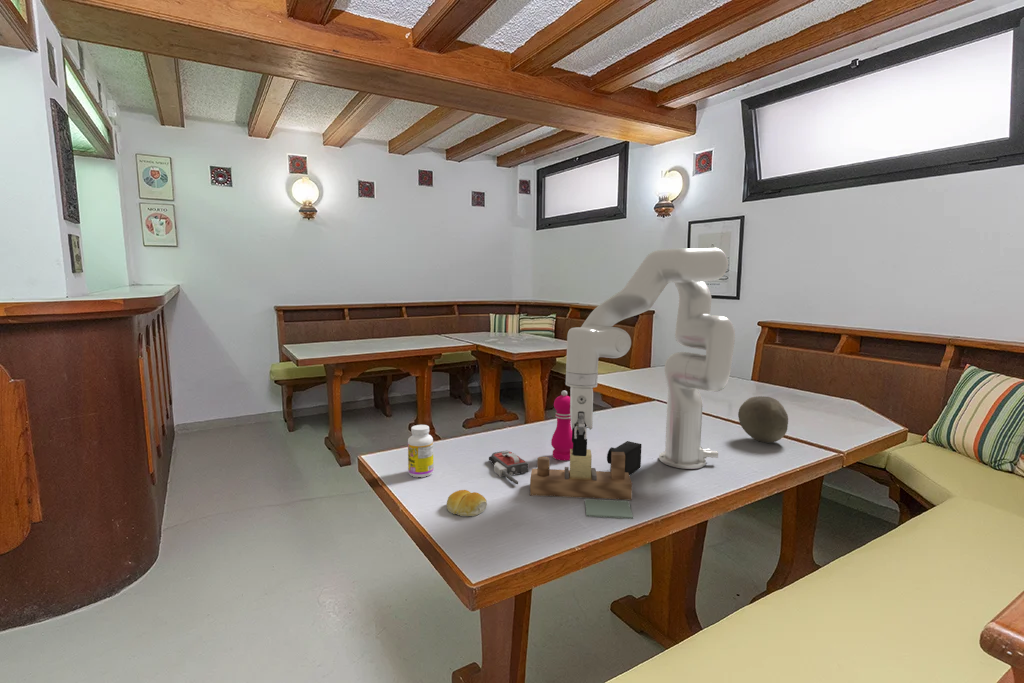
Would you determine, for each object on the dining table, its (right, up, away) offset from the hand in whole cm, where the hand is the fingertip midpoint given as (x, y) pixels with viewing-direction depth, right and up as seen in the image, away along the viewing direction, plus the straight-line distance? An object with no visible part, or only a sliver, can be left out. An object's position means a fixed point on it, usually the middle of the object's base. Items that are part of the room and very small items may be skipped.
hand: (578, 448), depth 119 cm
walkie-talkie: (-16, -10, +15) cm, 24 cm away
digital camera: (+14, -10, +15) cm, 23 cm away
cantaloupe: (+65, -7, +40) cm, 76 cm away
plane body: (0, -11, +2) cm, 11 cm away
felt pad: (+6, -12, -8) cm, 15 cm away
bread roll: (-26, -12, -8) cm, 30 cm away
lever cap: (+1, -7, +1) cm, 7 cm away
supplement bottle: (-41, -10, +13) cm, 44 cm away
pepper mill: (-1, -8, +26) cm, 27 cm away
